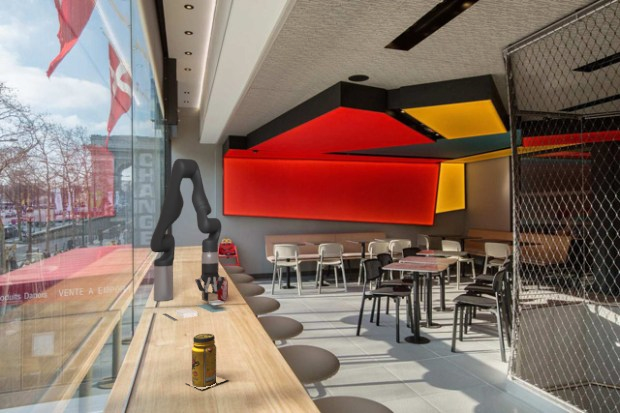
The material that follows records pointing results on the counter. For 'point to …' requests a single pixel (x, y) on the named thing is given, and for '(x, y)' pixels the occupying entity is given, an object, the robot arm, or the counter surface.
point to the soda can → (223, 291)
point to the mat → (170, 317)
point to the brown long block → (212, 299)
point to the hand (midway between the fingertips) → (210, 299)
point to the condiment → (204, 360)
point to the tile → (186, 313)
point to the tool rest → (211, 307)
